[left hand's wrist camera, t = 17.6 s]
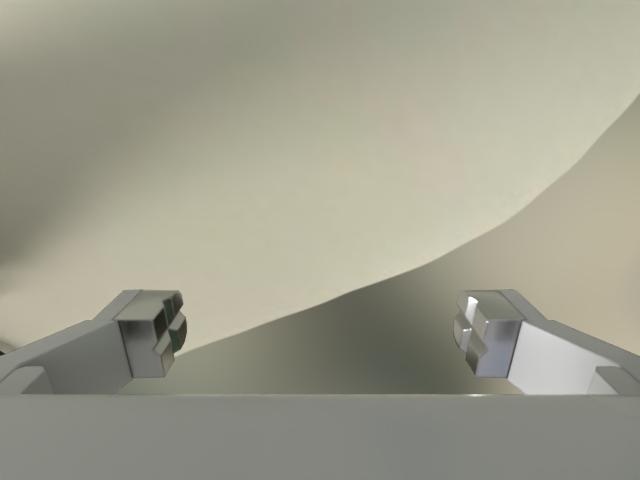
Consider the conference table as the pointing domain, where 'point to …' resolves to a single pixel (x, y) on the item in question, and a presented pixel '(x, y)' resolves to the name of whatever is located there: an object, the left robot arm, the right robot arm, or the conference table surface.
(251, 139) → the conference table surface
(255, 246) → the conference table surface
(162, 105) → the conference table surface
